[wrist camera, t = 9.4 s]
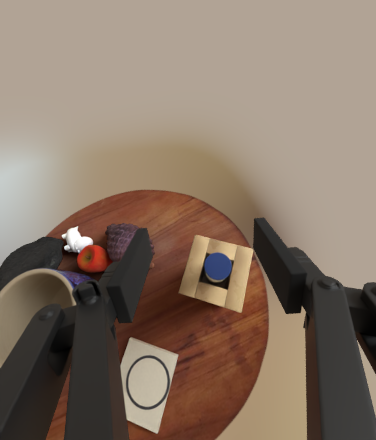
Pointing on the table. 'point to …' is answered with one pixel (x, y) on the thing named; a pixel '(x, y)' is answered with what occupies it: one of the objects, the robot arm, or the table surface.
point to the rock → (31, 258)
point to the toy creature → (76, 240)
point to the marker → (217, 267)
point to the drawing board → (146, 382)
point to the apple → (93, 259)
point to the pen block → (230, 287)
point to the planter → (32, 301)
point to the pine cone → (121, 240)
